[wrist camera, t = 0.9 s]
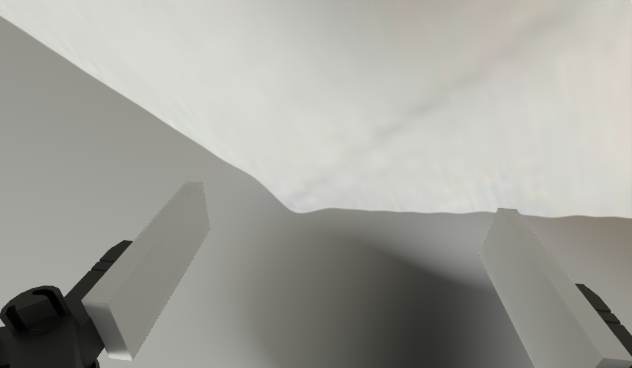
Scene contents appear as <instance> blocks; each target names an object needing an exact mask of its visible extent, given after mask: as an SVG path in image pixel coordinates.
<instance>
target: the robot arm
mask: <svg viewBox="0 0 632 368" xmlns="http://www.w3.org/2000/svg"><path fill="white" fill-rule="evenodd" d="M209 231H210V225H209V219H208V213H207V206H206V200H205V194H204V188H203V183H202V182H192V181H186V182H185V183H184V184H183V185H182V186H181V188H180V189H179V190H178V191H177V192H176V193H175V194H174V196H173V197H172V198H171V199H170V200H169V201H168V202H167V204H166V205H165V206H164V207H163V208H162V209H161V210H160V211H159V213H158V214H157V215H156V216H155V217H154V218H153V219H152V221H151V222H150V223H149V224H148V225H147V226H146V227H145V229H144V230H143V231H142V232H141V233H140V234H139V235H138V237H137V238H136V239H135V240H134V241H126V240H123V241H122V242H120V243H119V244H117V245H116V246H114V247H112V248H111V249H110V250H108V251H107V253H106V254H105V255H104V256H103V257H102V258H101V259H100V261H99V262H97V263H96V264H95V265H94V266H93V267H92V269H91V271H89V272H88V273H87V274H86V275H85V276H84V277H83V278H82V279H81V280H80V281H79V282H78V283H77V284H76V285H75V286H74V288H73V289H72V290H71V291H70V292H69V293H68V294H67V295H66V296H65V297H63V295H62V293H61V291H60V289H59V288H57V287H54V286H40V287H36V288H32V289H30V290H27V291H25V292H23V293H21V294H19V295H18V296H16V297H15V298H13V299H12V300H10V301H9V303H7V304H6V305H5V306H4V307H3V308H2V310H1V313H0V319H1V320H2V322H3V323H4V324H5V327H0V368H100V367H99V362H98V360H97V357H98V356H99V354H100V353H101V351H102V350H103V349H104V347H105V349H106V351H107V353H108V355H109V357H110V358H116V359H124V360H133V359H134V358H135V356H136V354H137V353H138V351H139V349H140V347H141V346H142V344H143V342H144V341H145V339H146V337H147V336H148V334H149V332H150V331H151V329H152V327H153V325H154V324H155V322H156V320H157V319H158V317H159V315H160V314H161V312H162V310H163V309H164V307H165V305H166V304H167V302H168V300H169V299H170V297H171V295H172V293H173V292H174V290H175V288H176V287H177V285H178V283H179V282H180V280H181V278H182V277H183V275H184V273H185V272H186V270H187V268H188V267H189V265H190V263H191V261H192V260H193V258H194V256H195V254H196V253H197V251H198V250H199V248H200V246H201V245H202V243H203V241H204V240H205V238H206V236H207V234H208V233H209ZM479 257H480V259H481V261H482V263H483V265H484V267H485V269H486V271H487V273H488V275H489V277H490V279H491V281H492V283H493V285H494V287H495V289H496V291H497V293H498V295H499V297H500V299H501V301H502V303H503V305H504V307H505V309H506V311H507V313H508V315H509V317H510V319H511V321H512V323H513V325H514V327H515V329H516V331H517V333H518V335H519V337H520V339H521V341H522V343H523V345H524V347H525V349H526V351H527V353H528V355H529V357H530V359H531V361H532V363H533V365H534V367H535V368H632V335H631V334H630V333H629V332H628V331H627V329H626V328H625V327H624V326H623V325H621V324H620V321H619V320H618V319H617V317H616V316H615V315H614V314H612V313H611V310H610V309H609V308H608V307H607V305H606V304H605V303H604V302H603V301H602V299H601V298H600V297H599V296H598V295H596V294H595V293H594V292H593V291H591V290H590V289H589V288H587V287H586V286H585V285H584V284H575V283H574V282H573V281H572V280H571V279H570V277H569V276H568V275H567V273H566V272H565V271H564V270H563V268H562V267H561V266H560V264H558V262H557V261H556V260H555V258H554V257H553V256H552V254H551V253H550V252H549V250H548V249H547V248H546V247H545V246H544V244H543V243H542V241H541V240H540V239H539V238H538V236H537V235H536V234H535V233H534V231H533V230H532V229H531V228H530V226H529V225H528V224H527V222H526V221H525V220H524V218H523V217H522V216H521V215H520V213H519V212H518V211H517V210H516V209H505V208H498V210H497V212H496V215H495V217H494V220H493V222H492V224H491V227H490V229H489V231H488V234H487V236H486V239H485V241H484V244H483V246H482V249H481V251H480V253H479Z"/></svg>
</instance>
